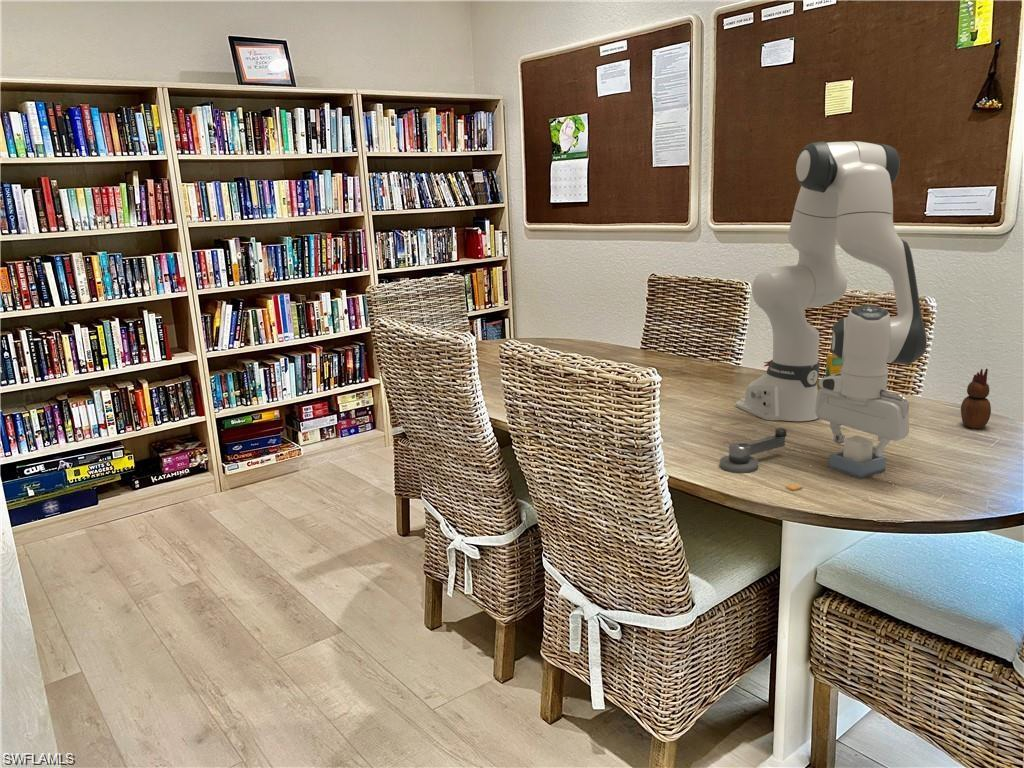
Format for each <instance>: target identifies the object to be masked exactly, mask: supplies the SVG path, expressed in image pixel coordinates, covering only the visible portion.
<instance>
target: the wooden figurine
mask: <svg viewBox="0 0 1024 768" xmlns="http://www.w3.org/2000/svg"><path fill="white" fill-rule="evenodd" d="M983 371H984V370H983V368H981V369H980V371H979V372H976V374H974V375H973V378H972V380H971V382H969V383H968V385H967V386H966V387H967V388H966V393H967V395H968V396H966V397H965V398H963V399H962V402H961V405H960V416H961V421H962V424H963V425H964V426H965V427H967V428H970V429H978V430H979V429H982V428H985V427H986V425H987V424H988V422H989V420H990V418H991V415H992V414H991V413H992V412H991V411H992V406H991V402H990V400H989V399H988V398H987V397H988V396H989V394H990V385H989V384H988V371H989V369H988V368H986V369H985V371H984V373H983Z"/></svg>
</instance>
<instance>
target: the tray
mask: <svg viewBox="0 0 1024 768" xmlns="http://www.w3.org/2000/svg"><path fill="white" fill-rule="evenodd" d="M843 452H844V449H843V450H840V451H836V452H833V453H830V454H829V457H828V458H829V461H828V468H829V469H832V470H836V471H837V472H840V473H844V474H846V475H849V476H851V477H854V478H857V479H863V478H867V477H870V476H873V475H877V474H879V473H883V472H886V464H887V457H886V456H884V455H882V456H880V457H878V456H875V455H873V454H872V460H869V461H866V462H862V463H859V462H856V461H853V460H850V459H847V458H844V457H843Z"/></svg>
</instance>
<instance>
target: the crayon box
mask: <svg viewBox="0 0 1024 768" xmlns="http://www.w3.org/2000/svg"><path fill="white" fill-rule="evenodd" d="M843 363H844V359H840V358H838V357H837V356H836V355H835V354H834V353H833V352H832V351H831V354H826V364H825V365H826V366H825V377H828V376H833V375H837V374H841V369H842V366H843Z"/></svg>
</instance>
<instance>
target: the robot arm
mask: <svg viewBox="0 0 1024 768" xmlns="http://www.w3.org/2000/svg"><path fill="white" fill-rule="evenodd" d="M900 166H901V161H900V155H899V153H898V151H897V149H896V148H895V147H893V146H891V145H888V144H884V143H871V142H864V141H855V140H851V141H833V142H832V141H831V142H826V141H817V142H816V141H815V142H811V143H808V144H806V145H805V146H804V147H803V149H802V150H801V151H800V152H799V154H798V157H797V160H796V163H795V177H796V181H797V182H798V184H799V185H800V189H799V191H798V194H797V197H796V201H795V205H794V209H793V213H792V217H791V221H790V225H789V230H788V235H787V238H788V241H789V242H788V243H790V245H791V246H792V247H793V249H795V250H796V251H798V262H797V264H795V265H786V266H776V267H773V268H768V269H766V270H763V271H761V272H759V273H758V274H757V275H756V276H755V277H754V280H753V283H752V287H751V293H752V299H753V301H754V302H755V304H756V306H758V307H759V308H760V309H761V310H763V311H764V312H765V314H766V316H767V318H768V320H769V322H770V326H771V329H772V339H773V340H772V341H773V343H772V359H770V360H769V361H765V362H763V364H764V365H763V367H767V368H766V371H765V372H766V373H763V375H761V376H759V377H758V378H756V379H755V380H753V381H752V382H749V384H748V385H747V387H746V389H745V394H744V398H741V399H740V400H738V401H736V402H735V407H736V408H739V409H741V410H743V411H746V412H748V413H750V414H751V415H755V416H757V417H759V418H761V419H763V420H766V421H785V422H786V421H787V422H807V421H808V422H810V421H813V420H818V419H820V420H824V421H827V422H829V428H830V430H831V432H832V434H833V442H834V443H835V444H839V445H841V444H844V439H846V438H845V437H846V435H845V434H843V433H842V430H841V427H842V426H843V427H847V428H850V429H852V430H853V429H854V430H857V431H860V432H863V433H867V434H870V435H874V436H876V437H877V441H879V443H878V444H877V445H875V446H874V445H873V447H872V454H873V455H875V456H878V457H880V456H884V452H885V447H887V445H888V444H889V443H890V441H894V442H896V441H901V440H903V439H906V437H908V436H909V433H910V418H909V417H910V416H909V413H910V412H909V411H910V403H909V401H908V400H907V398H905V397H904V395H902V394H900V393H895V392H894V393H893V392H891V391H888V390H887V387H888V378H889V369H888V364H887V363H890V364H898V365H907V366H909V365H911V364H913V363H914V362H916V361H918V360H919V359H920V358H921V357H922V356H923V355H925V353H926V350H927V345H928V336H927V330H926V328H925V323H924V320H923V315H922V309H921V303H920V297H919V290H918V283H917V277H916V276H917V275H916V271H915V266H914V260H913V255H912V251H911V248H910V246H909V243H908V242H907V241H905V240H904V239H902V238H900V236H899V234H898V233H897V231H896V228H895V226H894V224H895V223H894V198H893V197H894V196H893V187H892V185H893V184H894V183H895V181H896V180H897V178H898V175H899V172H900V168H901V167H900ZM837 243H838V245H839V246H840V249H842V251H844V252H845V253H846V254H847V255H849V256H851V257H852V258H854V259H857V260H858V261H862V262H865V263H867V264H870V265H873V266H875V267H877V268H880V269H881V270H883V271H885V272H886V273H887V274H888V275H889V276H890V278H891V281H892V284H893V285H892V286H893V290H894V299H895V304H896V311H897V315H895V316H890V315H891V314H890V312H889V311H888V310H887V309H886V308H883V307H879V306H876V305H869V304H868V305H866V304H865V305H859V306H858V305H857V306H854V307H852V308H851V309H849V311H848V314H847V316H846V317H842V318H840V319H839V320H837V321H836V322H835V323H834V324H833V325H832V326H831V328H832V329H831V330H832V331H831V334H832V335H831V341H830V344H831V345H830V351H831V353H832V352H833V353H834V354H835V355H836V356H837V357H838V358H840V359H844V363H843V366H842V369H841V374H837V375H833V376H828V377H826V376H825V377H822V378H821V377H820V378H819V376H820V362H819V350H820V334H819V330H818V329H817V328H816V327H814V326H813V325H811V324H810V323H808V321H807V317H806V309H809V308H817V307H818V308H819V307H824V306H827V305H830V304H832V303H835V302H837V301H839V300H841V299H842V298H843V297H844V295H845V294H846V291H847V288H848V287H847V286H848V281H847V276H846V273H845V272H844V270H843V269H842V268H841V267H840V266H839V264H838V262H837V255H836V244H837ZM818 386H819V388H820V389H819V390H818Z"/></svg>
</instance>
